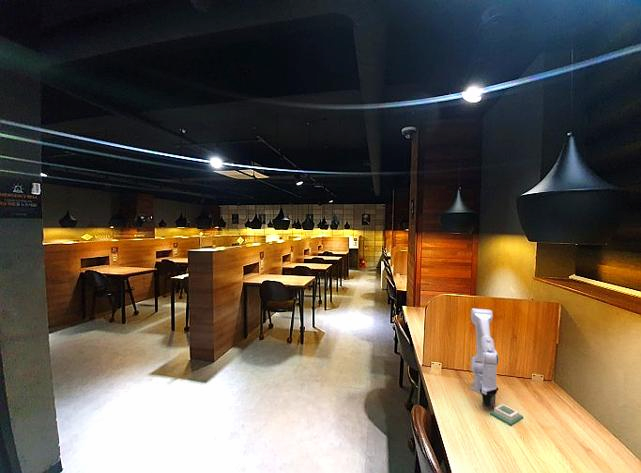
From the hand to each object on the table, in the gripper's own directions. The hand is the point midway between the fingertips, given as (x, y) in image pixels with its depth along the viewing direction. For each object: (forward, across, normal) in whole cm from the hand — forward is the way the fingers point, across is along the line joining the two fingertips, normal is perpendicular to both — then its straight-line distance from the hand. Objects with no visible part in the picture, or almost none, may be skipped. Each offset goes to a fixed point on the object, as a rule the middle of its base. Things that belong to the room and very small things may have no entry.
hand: (488, 403), depth 135 cm
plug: (+2, 0, 0) cm, 2 cm away
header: (+2, +2, +8) cm, 8 cm away
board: (+2, +2, +8) cm, 8 cm away
